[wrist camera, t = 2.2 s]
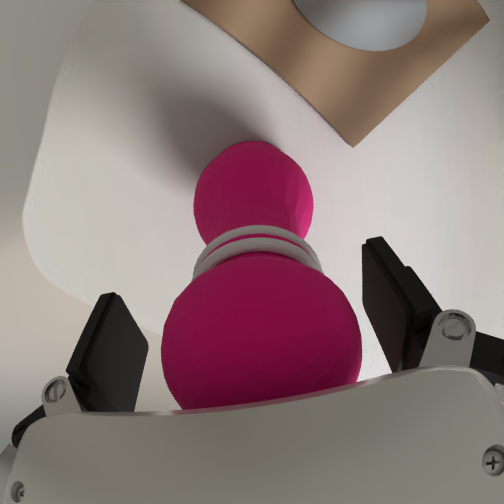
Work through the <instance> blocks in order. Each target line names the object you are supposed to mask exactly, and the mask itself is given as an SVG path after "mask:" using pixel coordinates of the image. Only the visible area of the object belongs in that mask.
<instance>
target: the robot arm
mask: <svg viewBox="0 0 504 504" xmlns="http://www.w3.org/2000/svg"><path fill="white" fill-rule="evenodd" d="M362 300H363V306H364V309H365V312H366V314H367V316H368V318H369V320H370V323H371V325H372V327H373V329H374V331H375V334H376V336H377V338H378V340H379V343H380V345H381V347H382V350H383V352H384V354H385V357H386V359H387V361H388V364H389V366H390V368H391V371H392V373H391V374H387V375H383V376H379V377H375V378H371V379H368V380H364V381H360V382H356V383H351V384H347V385H343V386H338V387H334V388H330V389H325V390H321V391H316V392H311V393H306V394H301V395H296V396H291V397H285V398H279V399H273V400H267V401H260V402H254V403H246V404H239V405H231V406H222V407H212V408H201V409H189V410H174V411H152V412H134V409H135V405H136V400H137V395H138V391H139V386H140V382H141V378H142V374H143V369H144V365H145V361H146V357H147V353H148V342H147V340H146V338H145V337H144V335H143V334H142V332H141V331H140V329H139V327H138V325H137V324H136V322H135V320H134V319H133V317H132V315H131V313H130V312H129V310H128V308H127V307H126V305H125V303H124V301H123V299H122V298H121V296H120V295H117V294H116V293H115V292H111V293H106V294H102V295H100V297H99V299H98V301H97V303H96V305H95V307H94V309H93V311H92V313H91V315H90V317H89V319H88V321H87V324H86V326H85V328H84V330H83V332H82V334H81V336H80V339H79V341H78V343H77V345H76V347H75V350H74V352H73V354H72V357H71V359H70V361H69V364H68V366H67V369H66V372H67V373H68V374H69V376H68V379H67V378H66V377H63V376H59V377H55V378H53V379H52V380H50V381H49V382H48V383H47V384H46V386H45V387H44V389H43V391H42V403H43V405H41V406H40V407H39V408H38V409H36V410H35V411H34V412H33V413H31V414H30V415H29V416H27V417H26V418H25V419H23V420H22V421H21V422H20V423H19V424H18V425H16V426H15V428H14V430H13V433H12V444H13V445H11V444H10V443H9V444H8V445H7V447H6V448H5V449H4V451H3V452H2V453H1V454H0V504H504V340H503V339H500V338H497V337H493V336H490V335H487V334H484V333H480V332H477V331H476V325H475V322H474V320H473V319H472V318H471V317H470V315H468V314H467V313H465V312H463V311H460V310H454V309H451V310H445V311H442V310H441V308H440V307H439V305H438V304H437V302H436V301H435V300H434V298H433V297H432V295H431V294H430V293H429V291H428V290H427V288H426V287H425V286H424V284H423V283H422V281H421V280H420V279H419V277H418V276H417V275H416V273H415V272H414V271H413V269H412V268H411V267H410V266H406V267H405V266H404V265H403V263H402V262H401V261H400V259H399V258H398V257H397V255H396V254H395V253H394V251H393V250H392V249H391V247H390V246H389V245H388V243H387V242H386V241H385V240H384V238H383V237H382V236H379V237H375V238H370V239H367V240H366V244H363V245H362Z"/></svg>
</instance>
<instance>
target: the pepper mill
mask: <svg viewBox="0 0 504 504" xmlns="http://www.w3.org/2000/svg"><path fill="white" fill-rule="evenodd" d="M193 206H194V217H195V221H196V225H197V228H198V231H199V233H200V236H201V238H202V239H203V241H204V242H205V244H206V245H207V247H206V248H205V249H204V250H203V252H202V253H201V255H200V256H199V258H198V259H197V262H196V265H195V267H194V272H193V278H192V281H191V283H190V284H189V285H188V286H187V287H186V288H185V290H184V291H183V292H182V293H181V294H180V295H179V296H178V297H177V298H176V299H175V301H174V303H173V306H172V308H171V310H170V313H169V315H168V317H167V320H166V322H165V324H164V330H163V337H162V345H161V361H162V367H163V373H164V378H165V380H166V383H167V385H168V387H169V390H170V392H171V394H172V395H173V397H174V398H175V400H176V401H177V402H178V404H179V405H180V407H181V408H182V410H189V409H201V408H212V407H222V406H231V405H239V404H246V403H254V402H260V401H267V400H273V399H279V398H285V397H291V396H296V395H301V394H306V393H311V392H316V391H321V390H325V389H330V388H334V387H338V386H343V385H347V384H351V383H356V381H357V379H358V376H359V372H360V368H361V362H362V340H361V333H360V329H359V325H358V321H357V317H356V315H355V313H354V311H353V309H352V307H351V305H350V303H349V301H348V300H347V298H346V296H345V295H344V293H343V291H342V290H341V289H340V288H339V287H338V286H337V285H335V284H334V283H333V282H332V281H331V280H330V279H329V278H328V277H326V276H325V275H324V273H323V271H322V269H321V264H320V262H319V260H318V257H317V255H316V253H315V252H314V251H313V249H312V248H311V246H310V245H309V244H307V243H306V242H305V241H304V238H305V236H306V235H307V232H308V230H309V227H310V224H311V220H312V214H313V196H312V191H311V188H310V185H309V182H308V180H307V177H306V175H305V174H304V172H303V170H302V169H301V167H300V166H299V165H298V164H297V163H296V162H295V161H294V160H293V159H292V158H290V157H289V156H288V155H286V154H284V153H283V152H281V151H280V150H279V149H277V148H276V147H274V146H272V145H270V144H268V143H265V142H260V141H245V142H240V143H237V144H234V145H232V146H230V147H229V148H227V149H226V150H224V151H223V152H222V153H221V154H220V155H219V156H218V157H216V158H215V159H214V160H213V161H212V162H211V163H210V164H209V165H208V166H207V167H206V168H205V170H204V171H203V172H202V174H201V176H200V178H199V180H198V183H197V186H196V190H195V197H194V204H193Z"/></svg>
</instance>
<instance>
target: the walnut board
mask: <svg viewBox="0 0 504 504" xmlns="http://www.w3.org/2000/svg"><path fill="white" fill-rule="evenodd" d="M180 1H182V2H183V3H185V4H187V5H188V6H190V7H191V8H193V9H194V10H195V11H197V12H198V13H200V14H201V15H203V16H204V17H206V18H207V19H208V20H210V21H211V22H213V23H214V24H215V25H217V26H218V27H219V28H221V29H222V30H223V31H225V32H226V33H227V34H229V35H230V36H231V37H233V38H234V39H235V40H236V41H238V42H239V43H240V44H242V45H243V46H244V47H245V48H246V49H248V50H249V51H250V52H251V53H253V54H254V55H255V56H256V57H257V58H259V59H260V60H261V61H262V62H263V63H265V64H266V65H267V66H268V67H269V68H270V69H272V70H273V71H274V72H275V73H276V74H277V75H278V76H279V77H281V78H282V79H283V80H284V81H285V82H286V83H287V84H288V85H289V86H290V87H292V88H293V89H294V90H295V91H296V92H297V93H298V94H299V95H300V96H301V97H302V98H303V99H304V100H305V101H306V102H307V103H308V104H309V105H310V106H311V107H312V108H313V109H315V110H316V111H317V112H318V113H319V114H320V116H321V117H322V118H323V119H324V120H325V121H326V122H327V123H328V124H329V125H330V126H331V127H332V128H333V129H334V130H335V131H336V132H337V133H338V134H339V135H340V136H341V137H342V138H343V140H344V141H345V142H346V143H347V144H349V145H350V146H351V147H353V148H354V147H355V146H356V145H357V144H358V143H359V142H360V141H361V140H362V139H364V138H365V137H366V136H367V135H368V134H369V133H370V132H371V131H372V130H373V129H374V128H375V127H376V126H377V125H378V124H379V123H381V122H382V121H383V120H384V119H385V118H386V117H387V116H388V115H389V114H390V113H391V112H392V111H393V110H394V109H395V108H396V107H398V106H399V105H400V104H401V103H402V102H403V101H404V100H405V99H406V98H407V97H408V96H409V95H410V94H411V93H412V92H413V91H415V90H416V89H417V88H418V87H419V86H420V85H421V84H422V83H423V82H424V81H425V80H426V79H427V78H428V77H430V76H431V75H432V74H433V73H434V72H435V71H436V70H437V69H438V68H439V67H440V66H441V65H442V64H443V63H445V62H446V61H447V60H448V59H449V58H450V57H451V56H452V55H453V54H454V53H455V52H456V51H457V50H458V49H460V48H461V47H462V46H463V45H464V44H465V43H466V42H467V41H468V40H469V39H470V38H471V37H472V36H474V35H475V34H476V33H477V32H478V31H479V30H480V29H481V28H482V27H483V26H484V25H485V24H487V23H488V22H489V21H490V19H489V17H488V16H487V14H486V13H485V11H484V10H483V8H482V7H481V5H480V4H479V3H478V1H477V0H180Z"/></svg>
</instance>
